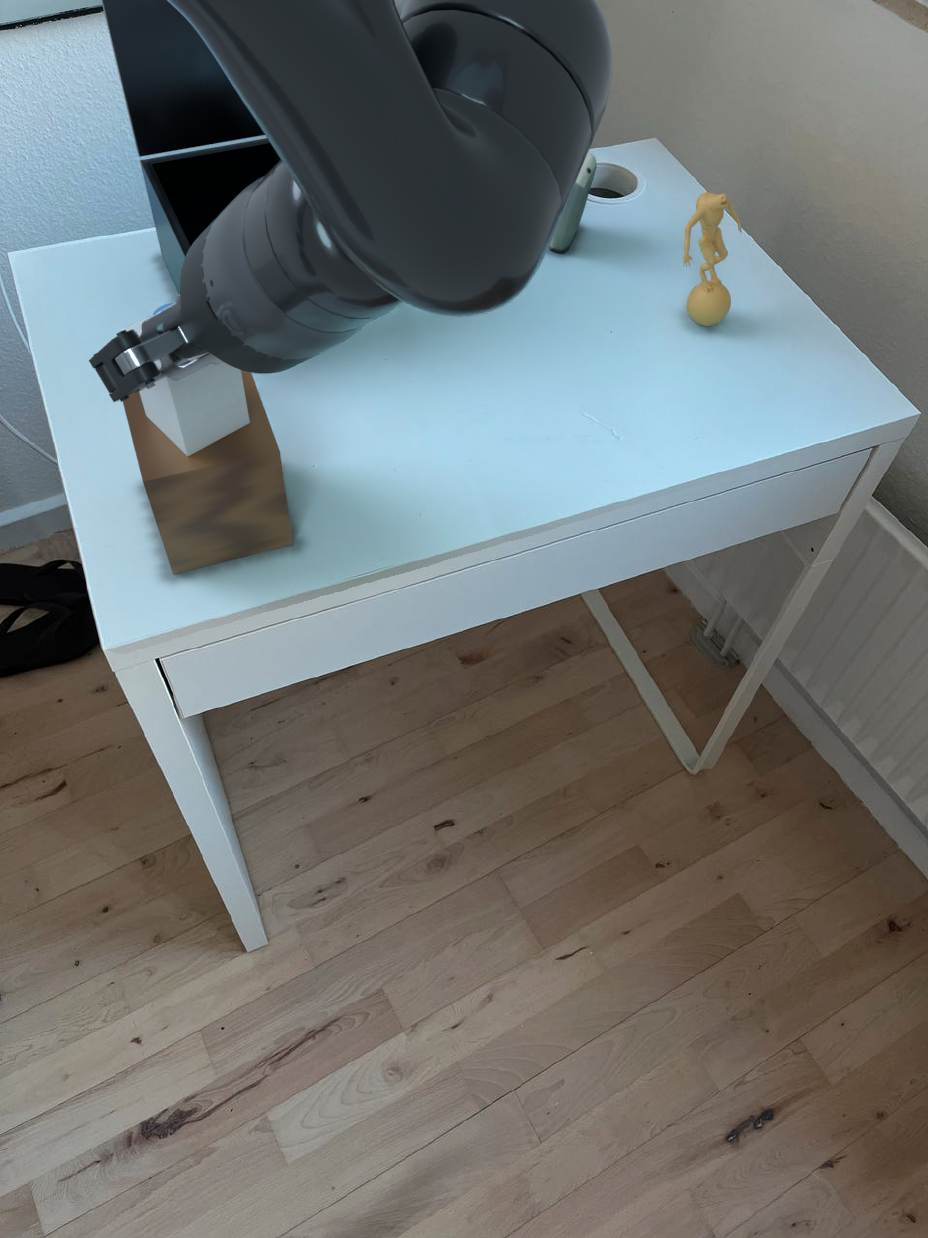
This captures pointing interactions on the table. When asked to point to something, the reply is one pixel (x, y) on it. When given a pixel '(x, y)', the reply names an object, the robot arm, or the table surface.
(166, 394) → the white box
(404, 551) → the table surface
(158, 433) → the brown box
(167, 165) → the black open box
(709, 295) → the figurine
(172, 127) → the lid
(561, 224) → the grey-green elongated block
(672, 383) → the table surface
